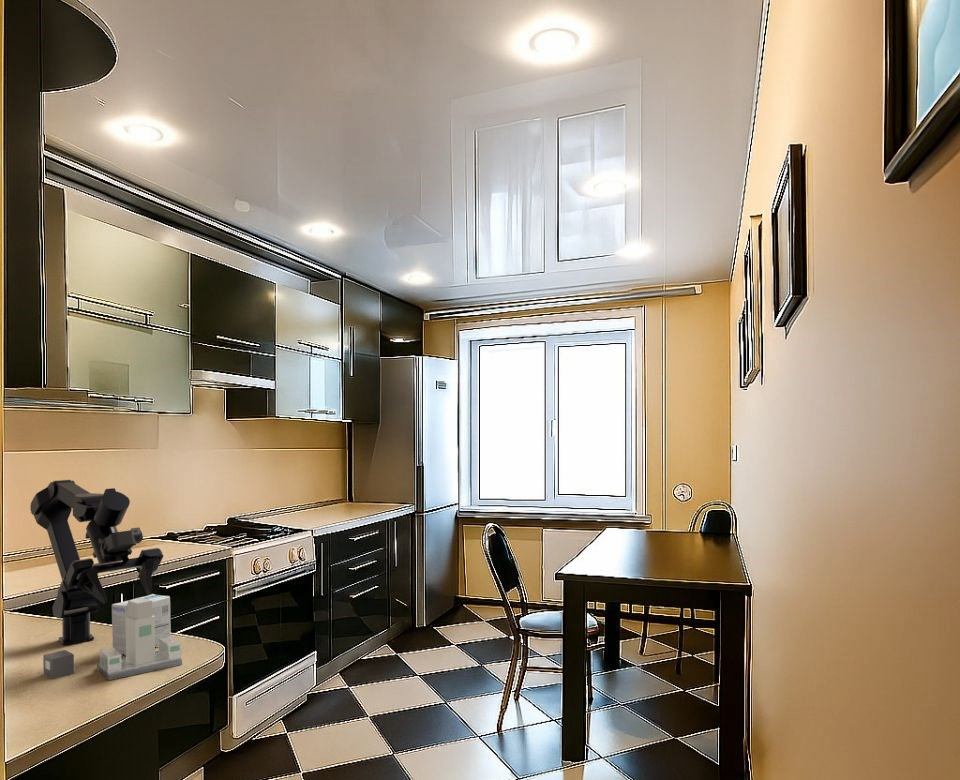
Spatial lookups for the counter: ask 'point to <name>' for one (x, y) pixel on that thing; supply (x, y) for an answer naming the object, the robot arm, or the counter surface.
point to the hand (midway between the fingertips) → (128, 597)
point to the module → (140, 632)
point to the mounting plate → (120, 668)
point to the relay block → (58, 664)
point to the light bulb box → (158, 610)
